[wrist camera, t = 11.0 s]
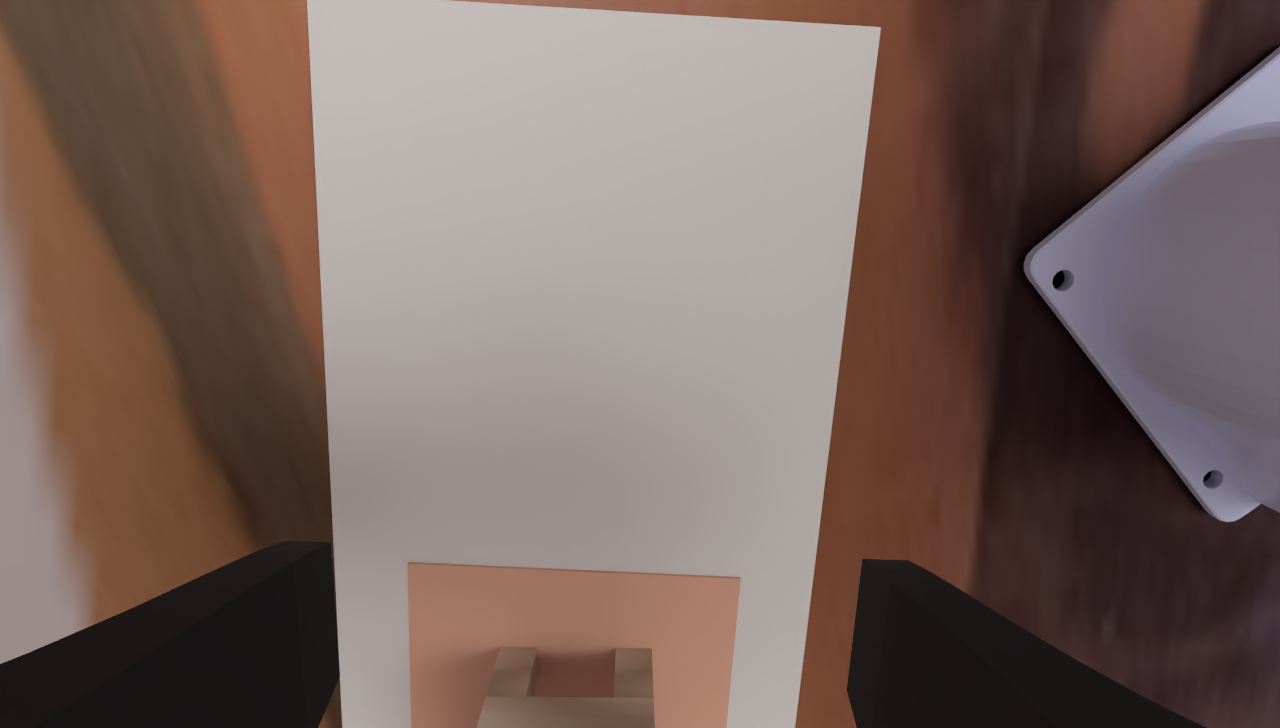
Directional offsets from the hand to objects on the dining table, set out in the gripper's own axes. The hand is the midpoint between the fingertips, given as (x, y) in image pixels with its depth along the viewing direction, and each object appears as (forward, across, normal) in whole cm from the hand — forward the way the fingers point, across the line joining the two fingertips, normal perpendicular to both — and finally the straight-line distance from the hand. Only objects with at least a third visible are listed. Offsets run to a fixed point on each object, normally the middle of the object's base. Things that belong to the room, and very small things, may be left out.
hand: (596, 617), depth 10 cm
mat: (+9, +1, +2) cm, 10 cm away
